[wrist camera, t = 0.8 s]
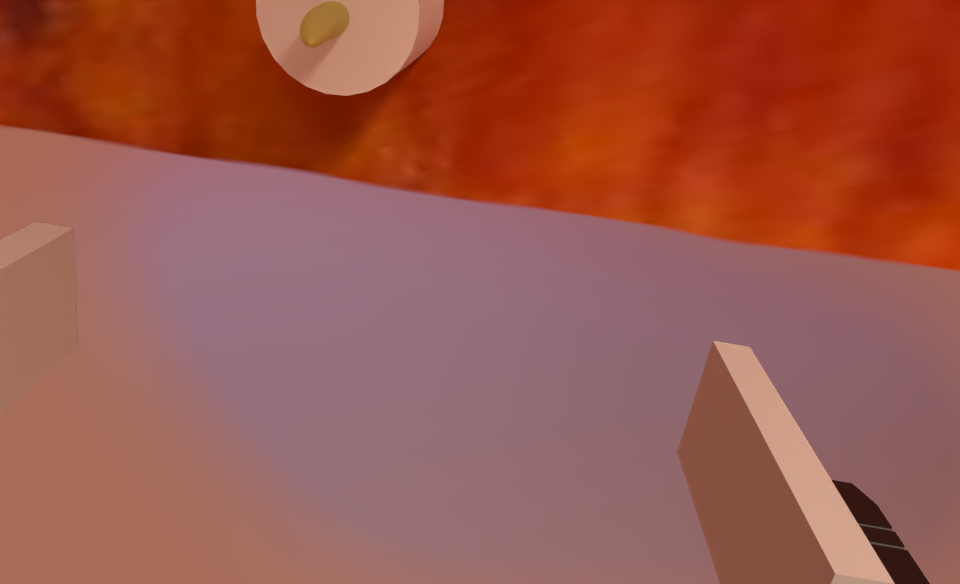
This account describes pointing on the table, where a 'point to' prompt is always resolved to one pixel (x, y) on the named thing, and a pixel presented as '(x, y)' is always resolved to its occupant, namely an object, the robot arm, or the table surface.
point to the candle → (347, 39)
